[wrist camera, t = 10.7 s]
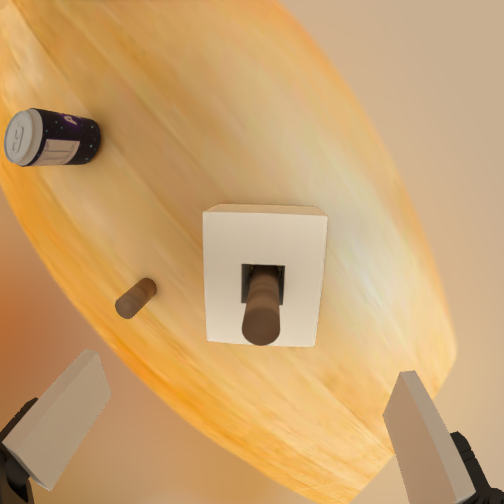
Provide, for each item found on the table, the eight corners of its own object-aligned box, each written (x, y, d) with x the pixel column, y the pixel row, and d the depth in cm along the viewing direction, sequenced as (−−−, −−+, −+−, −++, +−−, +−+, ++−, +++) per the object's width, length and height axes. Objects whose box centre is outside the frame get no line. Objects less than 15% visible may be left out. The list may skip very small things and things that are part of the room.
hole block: (219, 203, 30) (202, 211, 23) (316, 206, 29) (327, 216, 22) (220, 309, 33) (207, 341, 26) (307, 313, 32) (314, 346, 25)
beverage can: (110, 123, 28) (41, 109, 17) (97, 169, 30) (26, 172, 18) (78, 116, 28) (10, 104, 17) (66, 159, 30) (-3, 161, 18)
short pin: (137, 277, 33) (113, 296, 27) (155, 278, 33) (133, 299, 27) (140, 295, 33) (117, 317, 28) (157, 297, 33) (136, 320, 28)
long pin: (254, 253, 31) (241, 311, 17) (277, 253, 31) (281, 313, 17) (254, 274, 31) (241, 344, 18) (276, 275, 31) (279, 346, 18)
